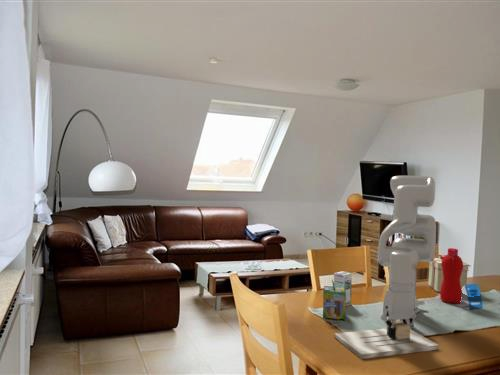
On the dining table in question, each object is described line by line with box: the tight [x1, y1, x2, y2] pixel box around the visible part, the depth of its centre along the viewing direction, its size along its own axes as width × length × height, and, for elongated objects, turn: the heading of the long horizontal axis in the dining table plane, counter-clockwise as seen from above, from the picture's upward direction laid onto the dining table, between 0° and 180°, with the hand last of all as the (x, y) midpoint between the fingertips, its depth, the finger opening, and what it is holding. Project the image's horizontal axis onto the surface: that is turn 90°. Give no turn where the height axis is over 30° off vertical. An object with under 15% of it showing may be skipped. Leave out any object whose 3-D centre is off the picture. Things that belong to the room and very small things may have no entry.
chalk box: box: [322, 279, 347, 321], centre depth 178 cm, size 9×9×15 cm
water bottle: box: [439, 247, 463, 304], centre depth 201 cm, size 9×11×25 cm
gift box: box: [427, 254, 471, 293], centre depth 223 cm, size 17×18×17 cm
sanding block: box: [386, 320, 410, 342], centre depth 152 cm, size 7×4×5 cm, turn 17°
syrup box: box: [333, 270, 353, 307], centre depth 194 cm, size 6×6×14 cm
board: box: [334, 327, 440, 360], centre depth 151 cm, size 30×18×2 cm, turn 107°
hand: (398, 336), depth 152 cm, fingers closed on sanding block, 4 cm apart
